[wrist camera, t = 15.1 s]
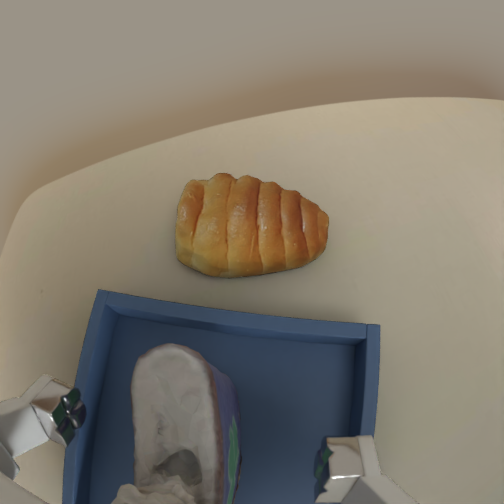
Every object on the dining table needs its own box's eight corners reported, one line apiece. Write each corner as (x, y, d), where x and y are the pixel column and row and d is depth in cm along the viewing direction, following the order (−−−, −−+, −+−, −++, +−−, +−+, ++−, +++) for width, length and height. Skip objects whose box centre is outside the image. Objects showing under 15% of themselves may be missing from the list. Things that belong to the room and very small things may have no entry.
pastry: (322, 200, 21) (332, 164, 18) (326, 289, 18) (341, 263, 15) (193, 194, 22) (183, 157, 19) (175, 280, 19) (157, 252, 15)
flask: (194, 369, 16) (104, 316, 6) (248, 374, 16) (234, 331, 6) (183, 518, 11) (102, 619, 2) (236, 525, 11) (213, 646, 2)
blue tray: (82, 519, 11) (62, 528, 9) (115, 303, 18) (97, 288, 16) (331, 566, 10) (340, 584, 7) (365, 335, 17) (381, 324, 15)
